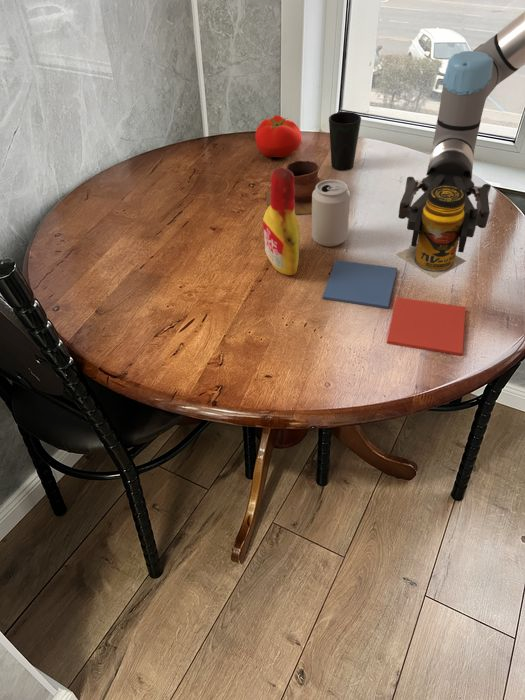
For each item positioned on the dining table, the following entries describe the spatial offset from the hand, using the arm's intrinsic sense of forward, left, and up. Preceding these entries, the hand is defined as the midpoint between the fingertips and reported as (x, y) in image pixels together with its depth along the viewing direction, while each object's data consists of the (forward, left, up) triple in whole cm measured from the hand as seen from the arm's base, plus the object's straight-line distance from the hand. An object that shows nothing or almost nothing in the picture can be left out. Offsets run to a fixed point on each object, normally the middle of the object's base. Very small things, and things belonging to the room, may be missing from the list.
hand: (438, 241), depth 79 cm
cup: (+25, -59, -18) cm, 66 cm away
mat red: (-1, -2, -18) cm, 18 cm away
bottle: (+28, -14, -18) cm, 36 cm away
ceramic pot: (+31, -42, -18) cm, 55 cm away
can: (+21, -25, -18) cm, 37 cm away
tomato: (+43, -63, -18) cm, 78 cm away
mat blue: (+12, -11, -18) cm, 24 cm away
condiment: (+1, -5, -7) cm, 8 cm away
